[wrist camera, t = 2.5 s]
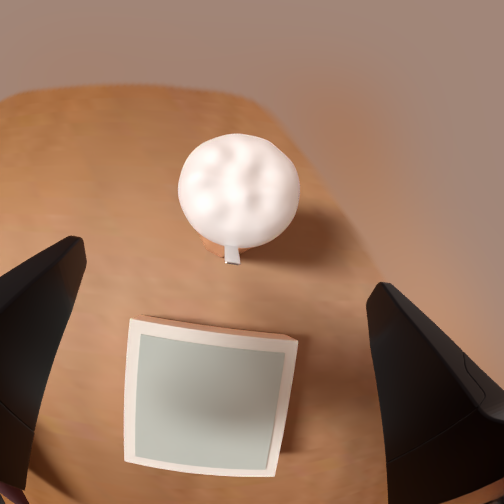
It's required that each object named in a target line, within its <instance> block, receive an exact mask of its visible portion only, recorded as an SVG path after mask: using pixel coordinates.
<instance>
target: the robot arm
mask: <svg viewBox="0 0 504 504" xmlns="http://www.w3.org/2000/svg"><path fill="white" fill-rule="evenodd" d="M86 263H87V260H86V254H85V248H84V242H83V239H82V238H81V237H76V236H68V237H66V238H64V239H63V240H61V241H59V242H57V243H55V244H54V245H52V246H50V247H48V248H47V249H45V250H43V251H41V252H40V253H38V254H36V255H35V256H33V257H31V258H30V259H28V260H26V261H25V262H23V263H21V264H20V265H18V266H17V267H15V268H13V269H12V270H10V271H9V272H7V273H6V274H4V275H2V276H1V277H0V482H3V483H5V484H8V485H10V486H13V487H16V488H19V489H21V490H25V487H26V479H27V472H28V465H29V458H30V452H31V447H32V442H33V437H34V431H35V426H36V422H37V418H38V414H39V409H40V406H41V402H42V398H43V394H44V391H45V387H46V384H47V380H48V377H49V374H50V371H51V367H52V364H53V361H54V358H55V355H56V352H57V349H58V347H59V344H60V341H61V338H62V336H63V333H64V330H65V328H66V325H67V322H68V320H69V317H70V315H71V312H72V309H73V306H74V303H75V300H76V296H77V293H78V290H79V287H80V283H81V280H82V277H83V274H84V271H85V268H86ZM366 310H367V319H368V328H369V338H370V348H371V354H372V359H373V365H374V371H375V377H376V383H377V389H378V396H379V402H380V410H381V417H382V425H383V434H384V444H385V454H386V462H387V463H386V468H387V484H388V504H504V390H503V389H502V388H501V387H499V386H498V385H497V384H496V383H495V382H494V381H493V380H492V379H491V378H490V377H489V376H487V374H486V373H485V372H483V370H481V369H480V368H479V367H478V366H477V365H476V364H475V363H474V362H473V361H472V360H471V359H470V358H469V357H468V356H467V355H466V354H465V353H464V352H463V351H462V350H461V349H460V348H459V347H458V346H457V345H456V344H455V343H454V342H453V341H452V340H451V339H450V338H449V337H448V336H447V335H446V334H445V333H444V332H443V331H442V330H441V329H440V328H439V327H438V326H437V325H436V324H435V323H434V322H433V321H431V320H430V319H429V318H428V317H427V316H426V315H425V314H424V313H423V312H422V311H421V310H419V308H418V307H416V306H415V305H414V304H413V303H412V302H411V301H410V300H409V299H408V298H407V297H405V296H404V295H403V294H402V293H401V292H400V291H399V290H398V289H396V288H395V287H394V286H393V285H392V284H390V283H385V282H379V283H378V284H377V285H376V287H375V288H374V290H373V292H372V293H371V295H370V297H369V298H368V300H367V304H366ZM0 504H5V502H4V500H3V498H2V496H1V495H0Z"/></svg>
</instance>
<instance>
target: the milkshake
mask: <svg viewBox="0 0 504 504" xmlns="http://www.w3.org/2000/svg"><path fill="white" fill-rule="evenodd" d="M178 196H179V201H180V204H181V207H182V209H183V212H184V214H185V216H186V218H187V219H188V221H189V222H190V224H191V225H192V227H193V228H194V229H195V231H196V232H197V234H198V235H199V237H200V238H201V240H202V242H203V244H204V246H205V248H206V250H208V251H210V252H211V253H213V254H215V255H217V256H219V257H224V259H225V263H228V264H234V265H240V264H241V262H240V257H239V254H241V253H243V252H245V251H247V250H249V249H251V248H253V247H256V246H260V245H263V244H265V243H268V242H270V241H271V240H273V239H275V238H276V237H277V236H279V235H280V234H281V233H282V232H283V231H284V230H285V229H286V228H287V227H288V226H289V224H290V223H291V221H292V220H293V218H294V216H295V214H296V211H297V207H298V202H299V196H300V183H299V178H298V174H297V171H296V168H295V166H294V164H293V163H292V162H291V160H290V159H289V158H288V157H287V156H286V155H285V154H284V153H282V152H281V151H280V150H279V149H278V148H277V147H276V146H275V145H273V144H272V143H271V142H269V141H267V140H265V139H262V138H259V137H255V136H251V135H245V134H228V135H223V136H220V137H216V138H214V139H211V140H208V141H206V142H204V143H202V144H201V145H199V146H198V147H197V148H196V149H194V151H193V152H192V153H191V154H190V155H189V157H188V158H187V160H186V162H185V164H184V166H183V169H182V172H181V175H180V179H179V184H178Z"/></svg>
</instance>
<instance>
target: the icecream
mask: <svg viewBox="0 0 504 504" xmlns="http://www.w3.org/2000/svg"><path fill="white" fill-rule="evenodd" d="M0 493H1V494H3V495H4V496H5V497H7V498H8V499H9V500H11V501H12V502H13V503H15V504H29V502H28V501H27V499H26V497H25V495H24V493H23V491H22V490H21V489H19V488H16V487H13V486H10V485H8V484H5V483H3V482H0Z"/></svg>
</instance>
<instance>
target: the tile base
mask: <svg viewBox="0 0 504 504" xmlns="http://www.w3.org/2000/svg"><path fill="white" fill-rule="evenodd" d="M297 348H298V341H297V340H295V339H293V338H291V337H289V336H287V335H285V334H277V333H266V332H257V331H248V330H239V329H231V328H223V327H215V326H208V325H201V324H194V323H187V322H181V321H175V320H169V319H163V318H157V317H151V316H146V315H140V316H136V317H133V318H130V324H129V334H128V345H127V357H126V372H125V393H124V457H125V461H126V462H130V463H135V464H140V465H144V466H150V467H155V468H161V469H167V470H173V471H180V472H188V473H196V474H207V475H219V476H239V477H274V476H275V471H276V467H277V462H278V457H279V452H280V448H281V443H282V437H283V432H284V427H285V422H286V416H287V411H288V405H289V399H290V393H291V387H292V381H293V375H294V368H295V362H296V355H297Z"/></svg>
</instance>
